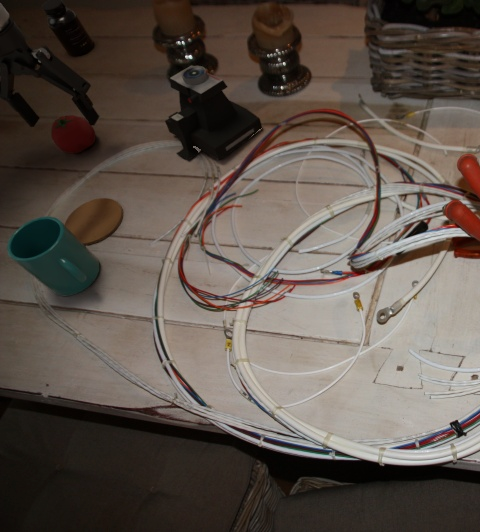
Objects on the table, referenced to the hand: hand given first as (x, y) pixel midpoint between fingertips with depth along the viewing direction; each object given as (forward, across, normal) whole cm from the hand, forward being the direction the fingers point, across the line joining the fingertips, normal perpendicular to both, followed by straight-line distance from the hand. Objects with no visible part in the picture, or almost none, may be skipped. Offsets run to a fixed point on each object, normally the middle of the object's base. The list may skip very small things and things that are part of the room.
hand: (65, 121), depth 111 cm
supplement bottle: (+6, -16, +35) cm, 39 cm away
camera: (+7, +29, +2) cm, 30 cm away
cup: (+7, +15, -34) cm, 38 cm away
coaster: (+7, +12, -21) cm, 25 cm away
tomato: (+7, 0, 0) cm, 7 cm away
